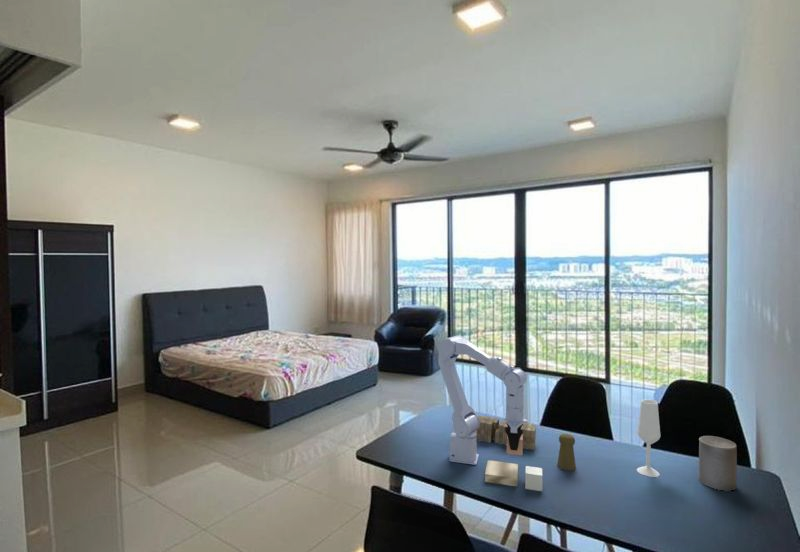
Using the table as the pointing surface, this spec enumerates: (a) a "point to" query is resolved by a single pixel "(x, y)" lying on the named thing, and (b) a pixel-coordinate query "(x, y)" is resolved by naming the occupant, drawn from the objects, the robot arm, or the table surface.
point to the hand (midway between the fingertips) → (513, 446)
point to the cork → (566, 452)
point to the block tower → (504, 432)
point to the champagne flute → (648, 432)
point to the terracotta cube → (520, 447)
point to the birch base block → (501, 473)
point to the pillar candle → (718, 463)
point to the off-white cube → (533, 478)
